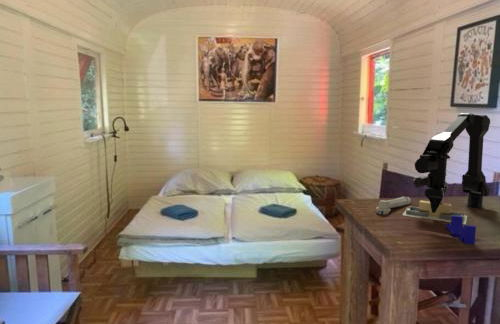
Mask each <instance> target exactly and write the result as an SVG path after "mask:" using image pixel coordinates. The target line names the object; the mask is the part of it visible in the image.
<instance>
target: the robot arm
mask: <svg viewBox="0 0 500 324" xmlns="http://www.w3.org/2000/svg"><path fill="white" fill-rule="evenodd" d="M490 125H491V119H490V117H488V115H485V114H475V113H469V112H468V113H467V112H462V113H459V114H458V115H457V117H456V118H455V120H453V122H452V123H450V125H449V126H448V127H447V128H446V129H445V130H444V131H443V132H441V133H439V134H437V135H435V136H433V137H432V138H431V139H430V140H429V141H428V142H427V145H426V147H425V149H424V151H423V153H422V154H420V155H419V158H418V159H417V160H416V161H415V162H414V169H415V171H416V172H417V173H418V174H427V175H424V176H418V177H415V178H414V179H413V180H412V182H413V183H412V185H414V188H415V189H417V188H420V187H424V186H426V188H425V190H424V196H425V198H427V199H428V200H429V201H430V205H431V210H432V213H435V212H436V210H437V208H438V206H439V204H440V203H442V201H443V199H444V196H445V193H447V189H448V182H447V181H446V178H447V177H446V176H447V163H448V160H449V159H451V156H450V155H449V153H450V152H451V151H452V149H453V148H454V142H455V140H456V139H457V138H458V137H459V136H460V135H461V133H462V132H464V131H466V133H467V134H468V136H469V141H468V142H469V143H468V144H469V147H468V163H467V164H468V165H467V171H466V172H465V174H463V175H461V179H462V181H461V187H462V193H465V194H467V201H466V204H465V207H466V208H472V209H473V208H474V209H481V210H484V208H485V207H484V205H483V204H484V197H488V196H489V195H490V192H491V188H489V186H488V184H487V181H486V179H487V178H486V176H485V174H484V172H483V171H482V167H483V153H484V152H483V150H484V137H485V135H486V134H487V132H488V131H489V129H490Z"/></svg>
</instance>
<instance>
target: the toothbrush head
mask: <svg viewBox="0 0 500 324" xmlns="http://www.w3.org/2000/svg"><path fill="white" fill-rule="evenodd" d="M412 201H413V200H412V198H411V197H409V196H401V197H397V198H393V199H389V200H384V199H383V200H382V199H381V200H379V202H378V206H377V207H375V208H376V214H379V215H388V214H390V212H391V211H392V210H391V209H393V208H399V207H404V206H407V205H408V206H410V204H412Z"/></svg>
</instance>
